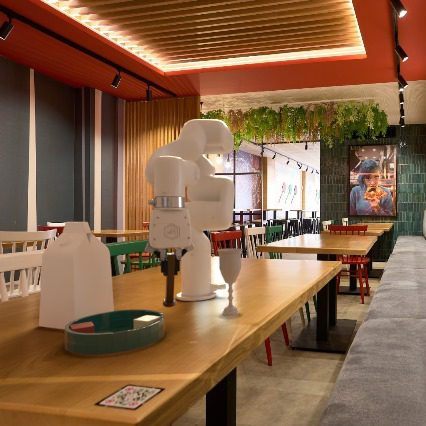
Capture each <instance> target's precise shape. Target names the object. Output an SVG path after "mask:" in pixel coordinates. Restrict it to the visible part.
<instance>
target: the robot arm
mask: <svg viewBox="0 0 426 426" xmlns="http://www.w3.org/2000/svg"><path fill="white" fill-rule="evenodd" d="M234 146H235V141H234V136H233V133H232V131H231V130H230V127H228V125H227V124H226V123H225V122H224V121H223V120H220V119H200V118H199V119H196V118H195V119H191V120H188V121H187V122H185V123H184V125H183V126H182V129H181V130H180V132H179V135H178V136H177V139H175V140H172V141H170V142H168V143H166V144H164V145H161V146H159V147H158V148H156V149H155V150H154V151H153V152H152V153H151V154H150V157H149V158H148V160H147V162H146V164H145V169H144V178H145V180H146V182H147V183H148V184H149V185H150V186H152V187H153V198H151V199H148V200H147V206H152V207H153V209H151V211H150V217H149V225H148V241H147V243H146V245H145V248H144V252H146V253H148V254H151V255H154V256H155V257H157V259H159V260H160V273H161V274H162V275H163V276H164V277H166V276H168V266H167V253H166V249H174V253H175V274H174V275H175V276H178V275H179V274H178V273H179V272H180V292H178V293H177V294H176V295H175V299H176V300H178V301H183V302H199V301H207V300H211V299H213V298H216V296H217V291H218V290H220V291H221V290H226V289H227V286H226V285H227V283H214V282H212V244H211V241H210V238H208V236H207V235H206V233H204V231H205V232H206V231H226V230H229V229H230V228H231V226H232V223H233V217H234V205H235V194H236V193H235V192H236V191H235V183H234V181H233V179H232V178H230V177H229V176H223V175H216V168H215V166H214V164H213V162H212V161H210V159H208V158H207V157H206V156H205V155H229V154H231V153H232V152H233V150H234ZM186 197H187V199H188V200H189V201H187V202H186Z"/></svg>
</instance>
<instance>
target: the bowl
mask: <svg viewBox="0 0 426 426" xmlns="http://www.w3.org/2000/svg"><path fill="white" fill-rule="evenodd" d="M146 315H150V316H160V317H161V318H160V319H159V320H158V321H156V322H154V323H152V324H149V325H147V326H143V327H140V328H136V329H134V319H137V318H140V317H143V316H146ZM86 322H92V323H93V325H94V333H78V332H74V331H71V330H70V325H73V324H79V323H86ZM63 332H64V333H63V334H64V335H63V336H64V339H63V340H64V349H65V350H66V351H68V352H70V353H73V354H78V355H106V354H115V353H123V352H127V351H131V350H136V349H139V348H142V347H146V346H149V345H151V344H154V343H156V342H157V341H160V340H161V339H162V338H163V337H164V336H165V334H166V316H165V314H164V313H163V312H161V311H159V310H153V309H141V308H140V309H138V308H137V309H136V308H135V309H132V308H131V309H120V310H119V309H118V310H114V311H109V312H104V313H98V314H93V315H89V316H85V317H82V318H79V319H76V320H74V321H71V322H69V323H68V324H67V325H66V326H65V328H64V329H63Z"/></svg>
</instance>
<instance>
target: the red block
mask: <svg viewBox="0 0 426 426" xmlns="http://www.w3.org/2000/svg"><path fill="white" fill-rule="evenodd" d="M70 330H71V331H74V332H78V333H94V325H93V323H92V322H86V323H79V324H73V325H70Z"/></svg>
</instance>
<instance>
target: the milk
mask: <svg viewBox="0 0 426 426" xmlns="http://www.w3.org/2000/svg"><path fill="white" fill-rule="evenodd" d="M111 262H112V261H111V252H110V249H109V247H107V245H106V244H105V243H104V242H102V241H101V240H100V239H99V238H98V237H97V236H95V234H93V233H92V231H91V228H90V225H89V222H88V221H66V222H65V223H64V226H63V229H62V233H61V234H59V235H58V236H57V237H56V238H55V239H54V240H53V241H52V242H51V243H50V244H49V245H48V246H47V247H46V248H45V250H44V251H43V253H42V256H41V270H40V271H41V273H40V291H39V292H40V294H39V296H40V297H39V313H38V314H39V318H38V319H39V320H38V327H44V328H51V329H57V330H64V328H65V326H66V325H67V324H68V323H69V322H71V321H74V320H76V319H79V318H82V317H85V316H89V315H93V314H98V313H104V312H109V311H115V305H114V302H115V301H114V292H113V275H112V264H111Z"/></svg>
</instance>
